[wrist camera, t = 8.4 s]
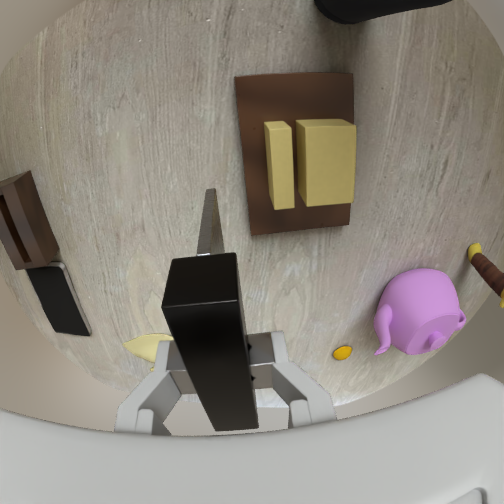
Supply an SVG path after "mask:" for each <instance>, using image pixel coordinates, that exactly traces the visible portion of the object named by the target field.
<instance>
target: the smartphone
mask: <svg viewBox="0 0 504 504" xmlns="http://www.w3.org/2000/svg"><path fill="white" fill-rule="evenodd" d="M25 272H26V274H27V276H28V279H29V281H30V283H31V285H32V287H33V290H34V292H35V294H36V296H37V298H38V300H39V302H40V304H41V306H42V308H43V310H44V312H45V314H46V316H47V318H48V320H49V322H50V323H51V325H52V327H53V329H54V331H55V332H56V333H63V334H72V335H81V336H90V334H91V328H90V326H89V324H88V321H87V319H86V317H85V315H84V312H83V310H82V308H81V305H80V303H79V301H78V298H77V296H76V293H75V291H74V288H73V286H72V283H71V280H70V278H69V275H68V272H67V270H66V267H65V265H64V264H63V263H62V262H50V263H49V265H48V266H43V267H36V268H28V269H25Z"/></svg>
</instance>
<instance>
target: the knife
mask: <svg viewBox="0 0 504 504" xmlns="http://www.w3.org/2000/svg"><path fill="white" fill-rule="evenodd" d="M468 258H469V261H470V263H471V264H472V265H473V266H474V267H475V269H476V270H477V271H478V273H479V274H480V275H481V277H482V278H483V279H484V280H485V281H486V283H487V284H488V285H489V286H490V287H491V288H492V289H493V290H494V291H495V293H497V294H498V296H500V297H501V298H502V300H501V302H500V307H502V308H504V273H502V272H501V271H500V270H499V269H498V268H497V267H496V266H495V265H494V264H493V263H492V262H490V261H489V260H488V259H487V258H486V257H485V256H484V255H482V251H481V246H480V244H478V243H474V244H472V245H471V246H470V247H469V249H468Z"/></svg>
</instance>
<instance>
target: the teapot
mask: <svg viewBox="0 0 504 504" xmlns="http://www.w3.org/2000/svg"><path fill="white" fill-rule="evenodd" d="M465 322H466V317H465V315H464V313H463V312H462V311H461V310H460V308H459V301H458V296H457V293H456V290H455V287H454V285H453V283H452V281H451V280H450V278H449V277H448V276H447V275H446V274H445V273H443V272H441V271H439V270H434V269H428V268H419V269H413V270H410V271H407V272H404V273H401V274H399V275H397V276H396V277H394V278H393V279H392V280H391V281H390V282H389V283H388V284H387V286H386V288H385V290H384V292H383V294H382V296H381V298H380V301H379V305H378V308H377V313H376V315H375V318H374V329H375V332H376V334H377V336H378V338H379V341H380V346H379V348H378V350H377V351H376V352H375V353H374V355H378V354H381V353H383V352H385V351H386V350H387V349H388V348H389V347H390V344H392V345H393V346H395V347H396V348H398V349H399V350H401V351H402V352H404V353H406V354H410V355H416V354H423V353H426V352H429V351H432V350H435V349H438V348H439V347H441V346H442V345H443V344H444V343H445V342H446V341H447V340H448V339H449V338H450V336H451V335H452V333H453V332H454V331H457V330H460V329H461V328H462V327H463V326H464V324H465Z"/></svg>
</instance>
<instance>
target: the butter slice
mask: <svg viewBox="0 0 504 504" xmlns="http://www.w3.org/2000/svg"><path fill="white" fill-rule="evenodd" d="M264 131H265V143H266V156H267V169H268V183H269V195H270V198H271V201H272V204H273V207H274V209H275V210H279V209H289V208H294V207H295V206H294V173H293V149H292V129H291V127H290V126H289V125H287V124H286V123H285V122H284V121H274V122H264Z"/></svg>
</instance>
